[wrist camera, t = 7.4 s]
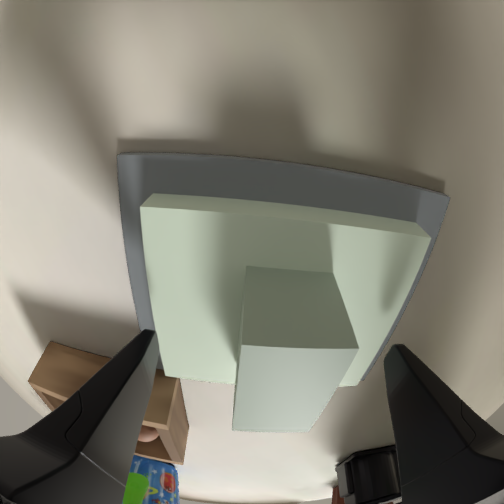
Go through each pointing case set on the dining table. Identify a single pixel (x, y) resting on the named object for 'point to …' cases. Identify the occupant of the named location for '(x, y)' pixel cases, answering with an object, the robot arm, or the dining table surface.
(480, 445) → the robot arm
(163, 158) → the mat
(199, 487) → the dining table surface
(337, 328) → the lid
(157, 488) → the snack cup
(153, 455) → the crate
